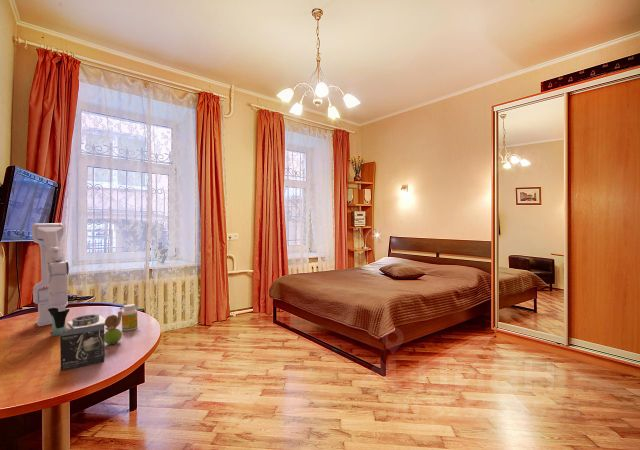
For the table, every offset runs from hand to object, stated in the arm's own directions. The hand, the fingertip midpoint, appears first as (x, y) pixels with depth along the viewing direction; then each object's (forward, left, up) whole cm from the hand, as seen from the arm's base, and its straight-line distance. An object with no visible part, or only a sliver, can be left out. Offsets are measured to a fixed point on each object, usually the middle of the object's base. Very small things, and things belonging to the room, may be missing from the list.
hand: (58, 326), depth 122 cm
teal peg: (0, 0, -3) cm, 3 cm away
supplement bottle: (+16, +20, -3) cm, 26 cm away
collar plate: (-6, +11, -3) cm, 13 cm away
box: (+40, 0, -3) cm, 40 cm away
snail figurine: (+29, +11, -3) cm, 31 cm away
